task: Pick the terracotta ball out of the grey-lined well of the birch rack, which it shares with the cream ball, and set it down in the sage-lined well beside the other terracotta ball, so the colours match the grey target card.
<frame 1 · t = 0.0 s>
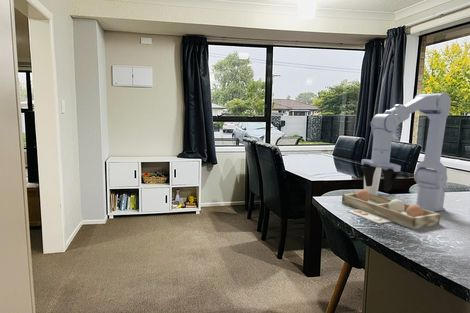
hand: (377, 188, 112), 10 cm above the kitchen counter, tool pointing down, fingers open, 7 cm apart
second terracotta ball: (363, 195, 128), point 3 cm above the kitchen counter, touching two-well rack
target card: (368, 216, 113), on the kitchen counter
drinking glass: (370, 197, 139), on the kitchen counter
terracotta ball: (414, 212, 108), point 3 cm above the kitchen counter, touching two-well rack
two-well rack: (385, 212, 118), on the kitchen counter
cream ball: (396, 206, 114), point 3 cm above the kitchen counter, touching two-well rack
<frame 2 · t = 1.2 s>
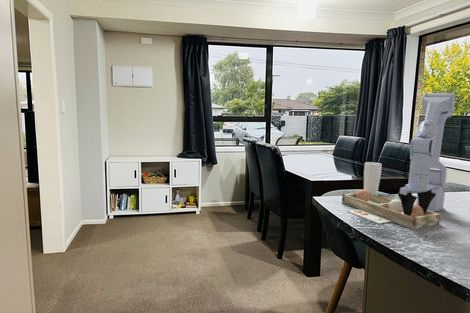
hand: (414, 213, 108), 3 cm above the kitchen counter, tool pointing down, fingers open, 7 cm apart
nothing on the kitchen counter moved.
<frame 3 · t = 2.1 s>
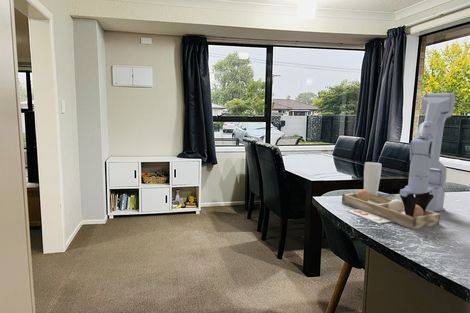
hand: (414, 215, 108), 2 cm above the kitchen counter, tool pointing down, fingers closed on terracotta ball, 5 cm apart
terracotta ball: (414, 212, 108), point 3 cm above the kitchen counter, touching gripper, two-well rack
everything else where it was.
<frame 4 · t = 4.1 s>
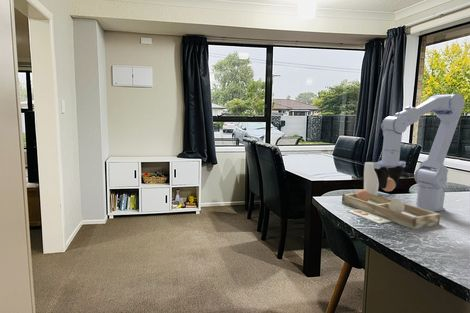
hand: (387, 187, 117), 9 cm above the kitchen counter, tool pointing down, fingers closed on terracotta ball, 5 cm apart
terracotta ball: (387, 184, 117), point 11 cm above the kitchen counter, touching gripper
everything else where it was.
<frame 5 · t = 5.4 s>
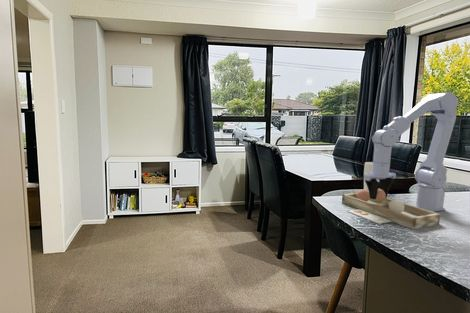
hand: (378, 198, 121), 4 cm above the kitchen counter, tool pointing down, fingers closed on terracotta ball, 5 cm apart
terracotta ball: (378, 195, 121), point 6 cm above the kitchen counter, touching gripper
everything else where it was.
when the fingers open (4 cm above the kitchen counter, at t = 6.2 s): terracotta ball drops 2 cm, resting on two-well rack.
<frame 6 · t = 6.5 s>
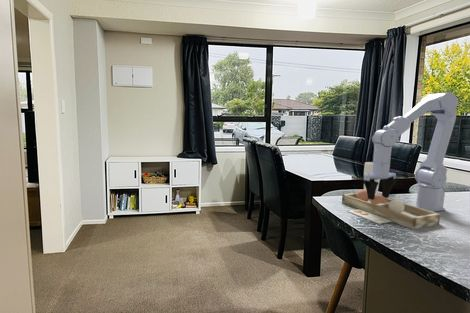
hand: (378, 198, 121), 4 cm above the kitchen counter, tool pointing down, fingers open, 7 cm apart
terracotta ball: (377, 200, 121), point 3 cm above the kitchen counter, touching two-well rack
everything else where it was.
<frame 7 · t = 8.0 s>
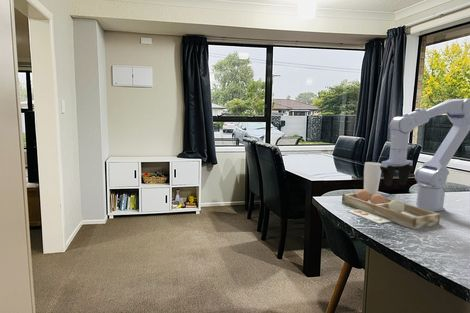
hand: (395, 185, 121), 9 cm above the kitchen counter, tool pointing down, fingers open, 7 cm apart
nothing on the kitchen counter moved.
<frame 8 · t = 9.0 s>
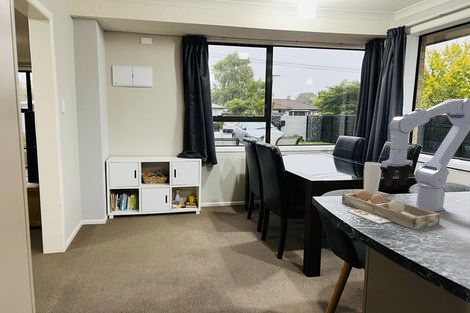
hand: (395, 185, 121), 9 cm above the kitchen counter, tool pointing down, fingers open, 7 cm apart
nothing on the kitchen counter moved.
at the end: terracotta ball inside the target area (3.5 cm from its centre), point 3.5 cm above the kitchen counter; the gripper is holding nothing; cream ball inside the target area (3.8 cm from its centre), point 3.5 cm above the kitchen counter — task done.
